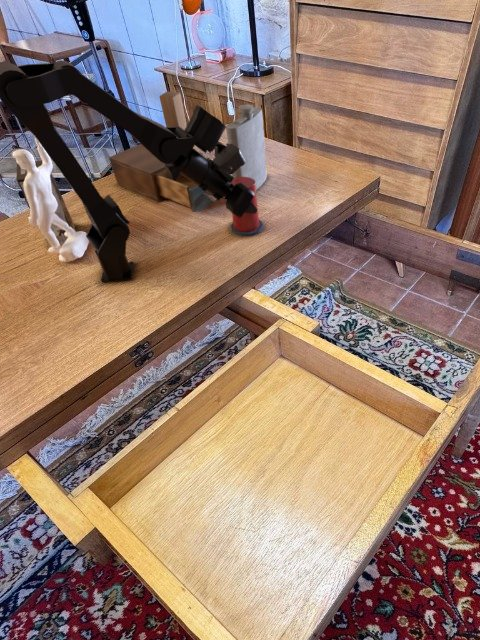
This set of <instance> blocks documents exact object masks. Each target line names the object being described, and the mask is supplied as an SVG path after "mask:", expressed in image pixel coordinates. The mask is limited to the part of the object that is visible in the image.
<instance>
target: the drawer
mask: <svg viewBox="0 0 480 640" xmlns="http://www.w3.org/2000/svg"><path fill="white" fill-rule="evenodd" d="M154 177H155V181H156V185H157V189H158V192H159V195H161V196H163V197H166V198H165V199H168V200H170V201H173V202H176V203H178V204H181V205H183V206H186V207H188V208H191V210H192V212H194V213H198V212H200V211H201V210H203V209H205V208H206V207H209V206H210V205H212V204H214V203H216V202H218V200H217V199H216V198H214V197H213V196H212V195H211V194H209V193H208V192H206V191H204V190H202V189H201V188H200V187H199V186H197V185H196V184H195V183H193V182H192V181H190V180H189V179H187V178H186V177H184V176H183V175H181V174H179V175H178V177H177V179H176V181H173V180H172V179H171V178H170V177H169V176H168V175H167V174H166V170H164V171H162V172H160V173H158V174H156V175H154Z"/></svg>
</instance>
